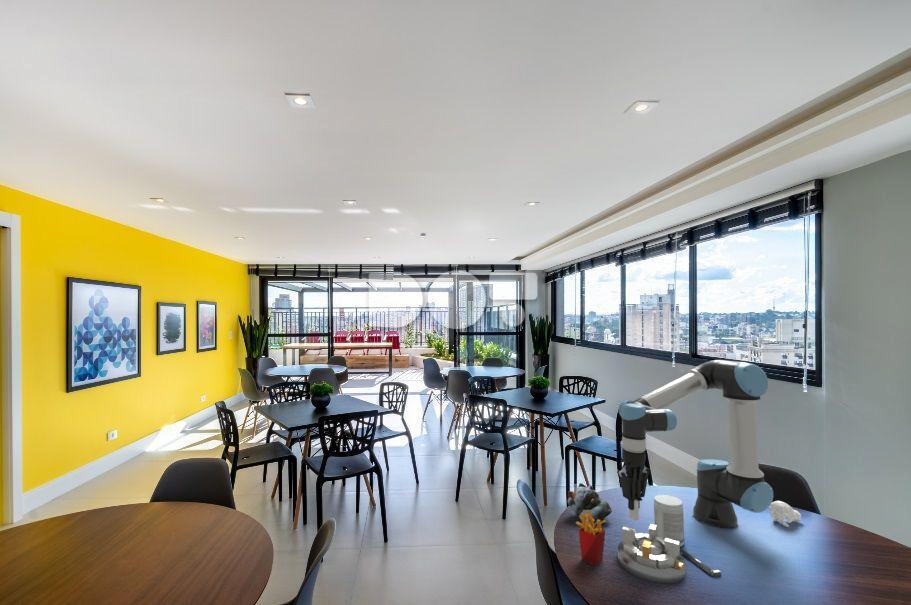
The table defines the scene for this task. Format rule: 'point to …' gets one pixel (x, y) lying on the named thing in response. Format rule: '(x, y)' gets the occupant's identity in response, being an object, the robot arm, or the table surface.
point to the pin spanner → (701, 564)
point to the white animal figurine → (783, 513)
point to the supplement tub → (669, 518)
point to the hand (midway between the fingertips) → (633, 518)
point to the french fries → (591, 539)
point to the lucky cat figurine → (588, 503)
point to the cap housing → (649, 572)
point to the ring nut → (645, 556)
